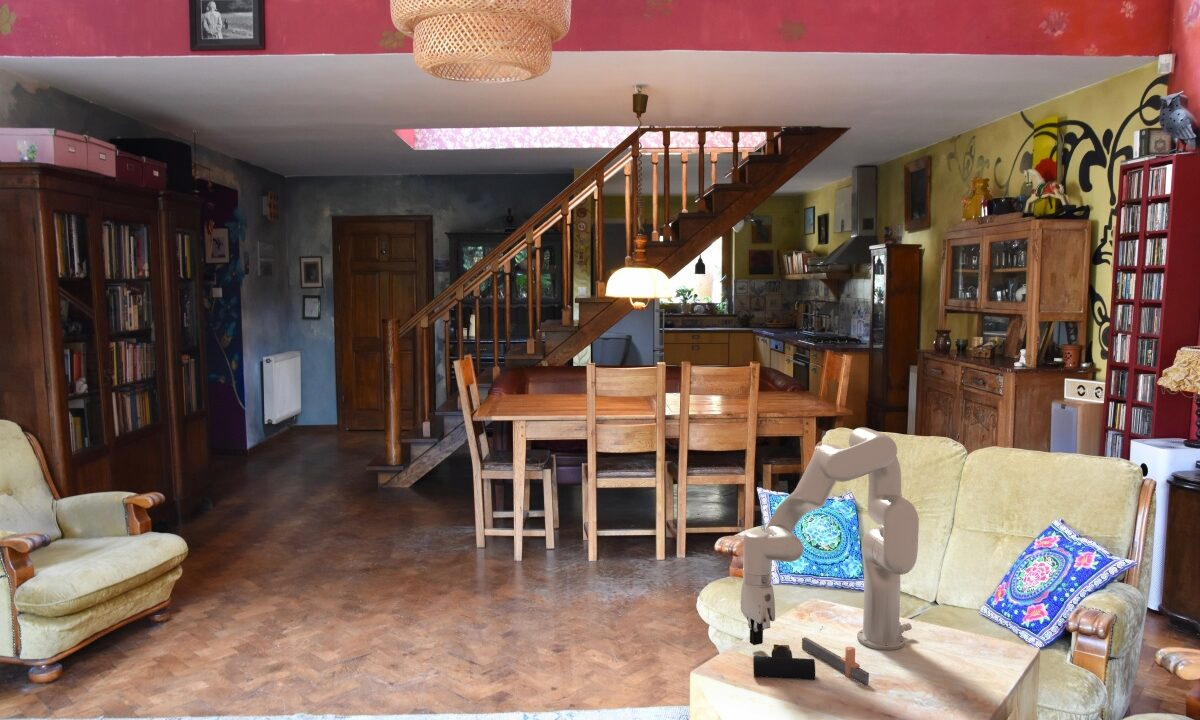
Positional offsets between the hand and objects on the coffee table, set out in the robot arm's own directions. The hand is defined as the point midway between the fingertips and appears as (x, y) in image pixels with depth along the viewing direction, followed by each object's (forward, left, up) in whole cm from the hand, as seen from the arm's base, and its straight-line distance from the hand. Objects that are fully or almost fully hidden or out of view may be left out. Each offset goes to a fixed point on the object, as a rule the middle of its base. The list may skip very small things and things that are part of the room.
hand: (756, 643), depth 231 cm
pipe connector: (+1, +13, -2) cm, 13 cm away
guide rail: (-12, +17, -2) cm, 21 cm away
